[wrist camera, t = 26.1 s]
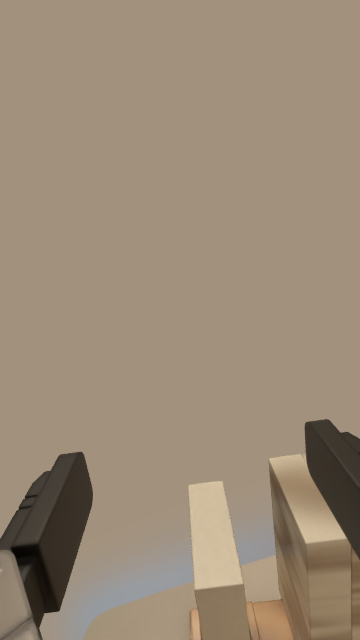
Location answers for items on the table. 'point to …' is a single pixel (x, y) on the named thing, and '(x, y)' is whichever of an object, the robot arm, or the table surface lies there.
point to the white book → (216, 565)
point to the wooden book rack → (305, 566)
